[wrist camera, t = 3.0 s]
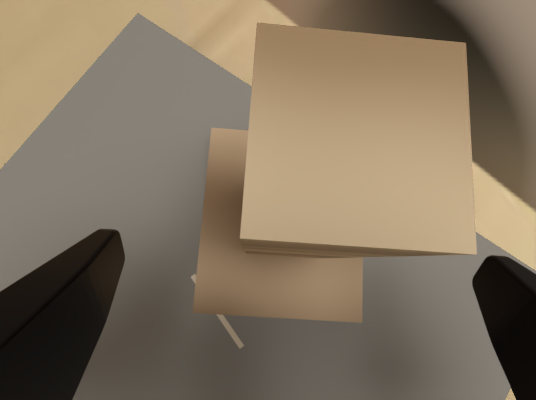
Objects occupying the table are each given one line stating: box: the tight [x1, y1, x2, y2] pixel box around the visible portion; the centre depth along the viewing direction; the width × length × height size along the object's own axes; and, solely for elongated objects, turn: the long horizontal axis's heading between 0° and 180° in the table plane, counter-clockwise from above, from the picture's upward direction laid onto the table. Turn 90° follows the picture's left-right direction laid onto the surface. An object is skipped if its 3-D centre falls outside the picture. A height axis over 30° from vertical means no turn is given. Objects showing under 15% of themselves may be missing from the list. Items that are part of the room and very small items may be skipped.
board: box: [0, 13, 536, 400], centre depth 16 cm, size 26×17×2 cm, turn 56°
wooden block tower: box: [193, 23, 477, 323], centre depth 10 cm, size 8×7×12 cm
